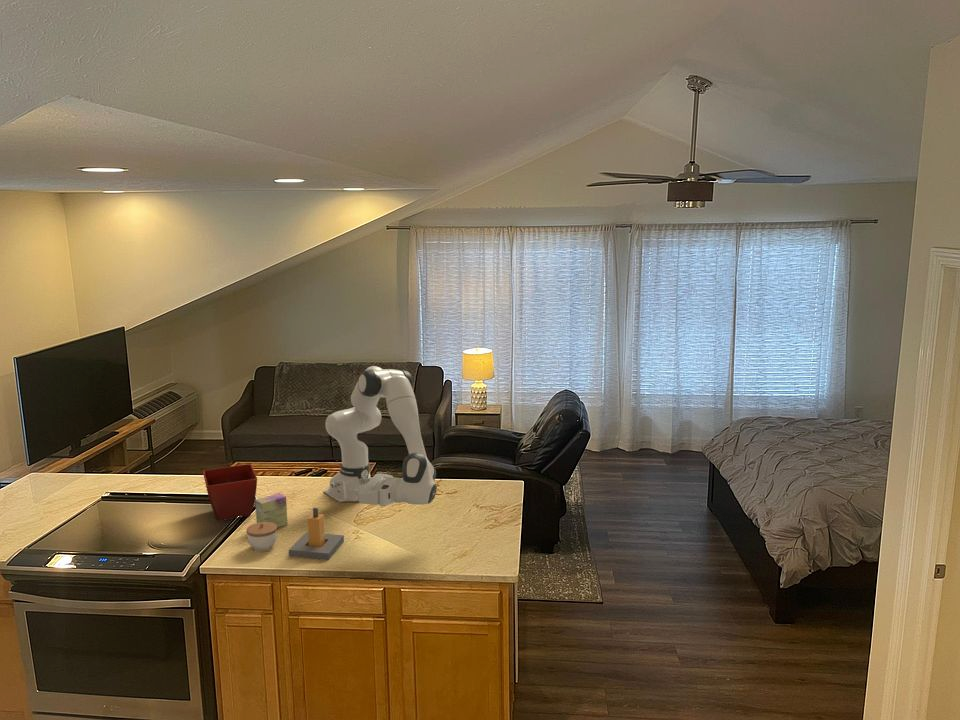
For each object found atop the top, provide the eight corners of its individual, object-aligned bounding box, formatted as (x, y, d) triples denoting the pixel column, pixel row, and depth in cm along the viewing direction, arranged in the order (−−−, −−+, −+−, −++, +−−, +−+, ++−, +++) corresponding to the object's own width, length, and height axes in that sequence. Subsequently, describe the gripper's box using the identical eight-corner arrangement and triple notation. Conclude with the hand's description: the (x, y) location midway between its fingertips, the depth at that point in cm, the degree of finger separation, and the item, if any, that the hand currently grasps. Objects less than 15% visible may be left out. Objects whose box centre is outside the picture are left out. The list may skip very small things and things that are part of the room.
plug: (308, 549, 265) (307, 510, 262) (313, 544, 269) (312, 505, 266) (320, 550, 264) (318, 511, 261) (325, 545, 268) (323, 506, 265)
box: (280, 520, 291) (278, 492, 289) (287, 524, 287) (286, 496, 285) (256, 528, 284) (254, 499, 282) (263, 532, 280) (261, 503, 278)
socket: (288, 556, 261) (288, 549, 260) (306, 538, 275) (305, 532, 275) (328, 560, 258) (328, 553, 258) (344, 541, 272) (343, 535, 272)
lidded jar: (278, 552, 264) (277, 527, 262) (247, 555, 261) (245, 531, 259) (277, 539, 274) (276, 516, 272) (247, 543, 271) (246, 519, 269)
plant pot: (209, 526, 285) (206, 485, 282) (205, 508, 302) (202, 470, 299) (259, 518, 293) (257, 478, 290) (253, 501, 310) (251, 463, 307)
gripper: (399, 471, 273) (364, 467, 276) (382, 492, 254) (344, 488, 256) (399, 486, 275) (364, 483, 277) (382, 508, 255) (344, 505, 258)
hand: (354, 486), depth 267 cm, fingers open, 8 cm apart
